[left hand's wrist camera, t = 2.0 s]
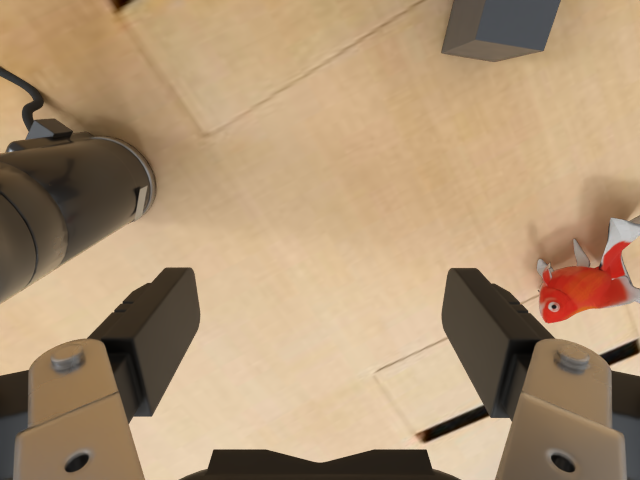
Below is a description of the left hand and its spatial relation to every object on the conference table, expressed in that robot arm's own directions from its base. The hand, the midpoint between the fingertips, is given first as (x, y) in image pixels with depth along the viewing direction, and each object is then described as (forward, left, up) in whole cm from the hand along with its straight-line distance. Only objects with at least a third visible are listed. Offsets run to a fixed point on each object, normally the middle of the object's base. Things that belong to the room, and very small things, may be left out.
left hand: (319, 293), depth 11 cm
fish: (+30, +10, -28) cm, 42 cm away
